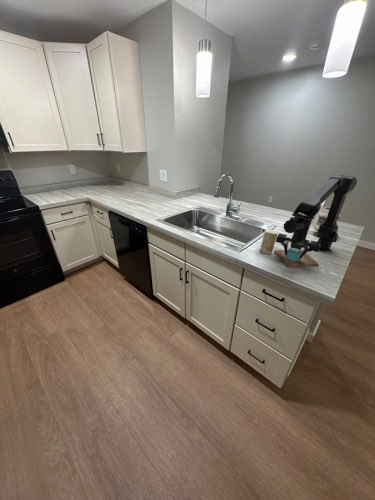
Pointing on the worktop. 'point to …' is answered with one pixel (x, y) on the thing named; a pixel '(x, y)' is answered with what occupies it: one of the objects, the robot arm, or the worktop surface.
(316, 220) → the milk carton
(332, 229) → the robot arm
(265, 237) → the skincare box
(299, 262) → the walnut board
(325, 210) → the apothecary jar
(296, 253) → the cap
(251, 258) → the worktop surface
